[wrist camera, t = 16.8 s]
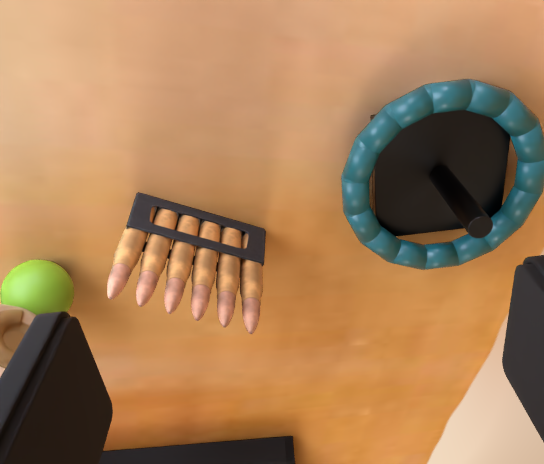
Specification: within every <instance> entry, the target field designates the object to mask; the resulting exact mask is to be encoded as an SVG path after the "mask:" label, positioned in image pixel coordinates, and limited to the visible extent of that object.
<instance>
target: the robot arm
mask: <svg viewBox="0 0 544 464" xmlns="http://www.w3.org/2000/svg"><path fill="white" fill-rule="evenodd" d="M502 363H503V369H504V372H505V374H506V377H507V378H508V380H509V382H510V384H511V385H512V387H513V389H514V390H515V393H516V394H517V396H518V398H519V400H520V401H521V403H522V405H523V407H524V408H525V410H526V412H527V414H528V415H529V417H530V419H531V421H532V423H533V424H534V426H535V428H536V430H537V431H538V433H539V435H540V437H541V438H542V440H543V442H544V255H541V256H532V257H527V258H525V260H524V262H523V265H518V266H517V267H516V270H515V275H514V282H513V289H512V296H511V302H510V309H509V316H508V323H507V330H506V338H505V344H504V351H503V359H502ZM112 413H113V410H112V403H111V400H110V397H109V395H108V392H107V390H106V387H105V385H104V382H103V380H102V377H101V375H100V372H99V370H98V368H97V365H96V363H95V360H94V358H93V355H92V353H91V350H90V348H89V345H88V343H87V340H86V338H85V335H84V333H83V330H82V328H81V325H80V323H79V321H78V319H77V318H76V317H70V315H69V314H68V313H67V312H65V311H61V312H53V313H44V314H38V315H36V317H35V318H34V319H33V321H32V323H31V324H30V326H29V328H28V330H27V332H26V333H25V335H24V337H23V339H22V340H21V342H20V344H19V346H18V347H17V349H16V351H15V353H14V355H13V356H12V358H11V360H10V362H9V363H8V365H7V367H6V369H5V370H4V372H3V374H2V376H1V378H0V464H99V462H100V458H101V455H102V451H103V448H104V444H105V441H106V437H107V434H108V431H109V427H110V424H111V420H112Z"/></svg>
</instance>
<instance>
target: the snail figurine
mask: <svg viewBox="0 0 544 464" xmlns="http://www.w3.org/2000/svg"><path fill="white" fill-rule="evenodd" d="M73 298H74V286H73V282H72V279H71V277H70V276H69V274H68V273H67V272H66V271H65V270H64V269H63V268H62V267H61V266H59V265H58V264H56V263H54V262H51V261H47V260H31V261H27V262H24V263H22V264H20V265H18V266H16V267H15V268H14V269H12V270H11V271H10V272H9V273H8V275H7V276H6V278H5V279H4V281H3V283H2V286H1V291H0V299H1V304H0V367H3V368H6V367H7V365H8V363H9V362H10V360H11V358H12V356H13V355H14V353H15V351H16V349H17V347H18V346H19V344H20V342H21V340H22V339H23V337H24V335H25V333H26V332H27V330H28V328H29V326H30V324H31V323H32V321H33V319H34V318H35V317H36V315H38V314H44V313H53V312H61V311H65V312H67V311H68V310H69V308H70V307H71V305H72V302H73Z"/></svg>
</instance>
